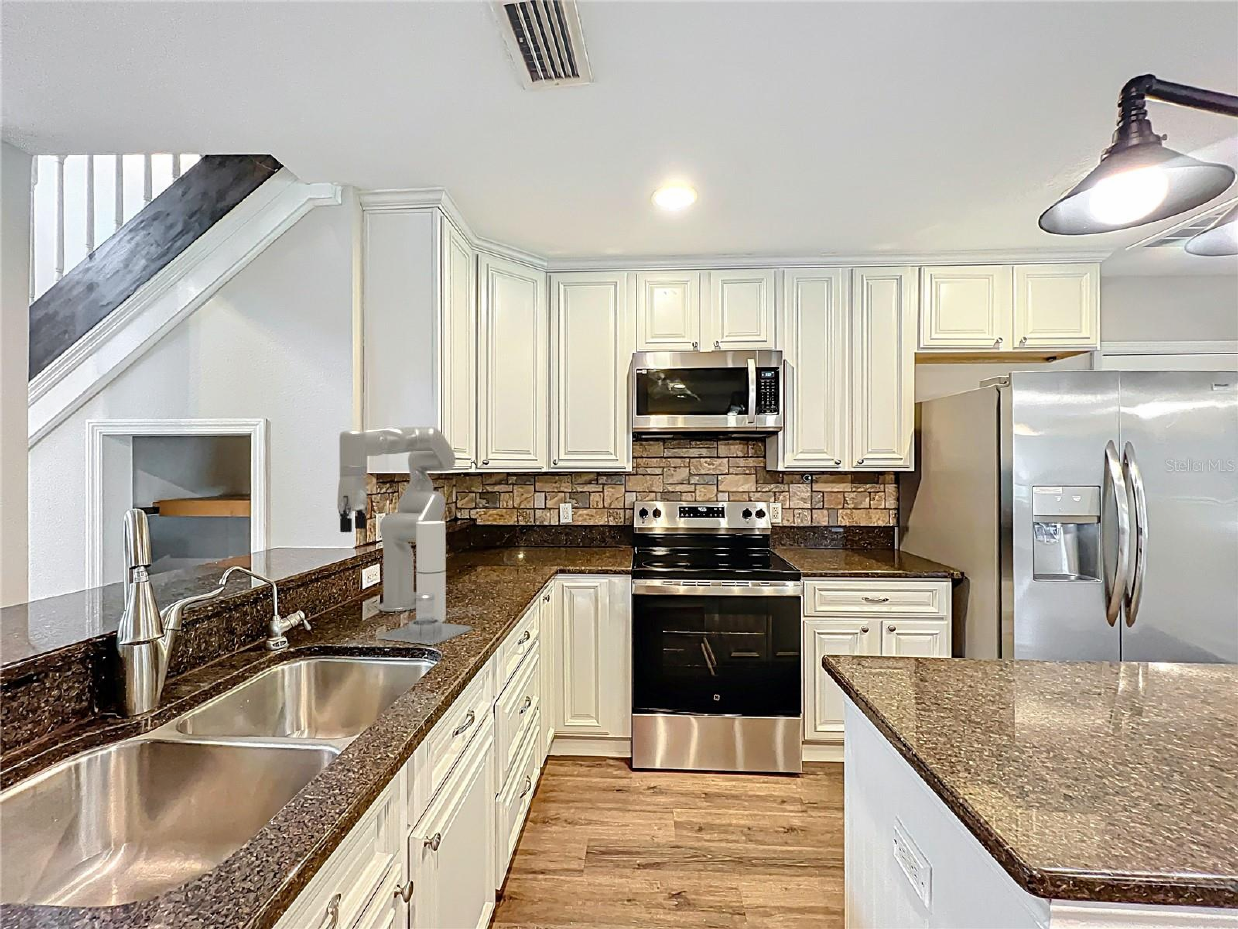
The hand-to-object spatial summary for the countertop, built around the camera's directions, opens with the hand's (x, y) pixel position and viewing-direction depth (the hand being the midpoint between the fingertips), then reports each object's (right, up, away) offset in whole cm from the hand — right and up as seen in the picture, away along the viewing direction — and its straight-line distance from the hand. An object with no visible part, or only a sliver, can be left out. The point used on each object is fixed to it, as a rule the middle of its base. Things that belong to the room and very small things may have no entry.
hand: (353, 530), depth 190 cm
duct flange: (+24, -28, -10) cm, 38 cm away
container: (+21, -28, +7) cm, 36 cm away
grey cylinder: (+24, -27, -10) cm, 38 cm away
